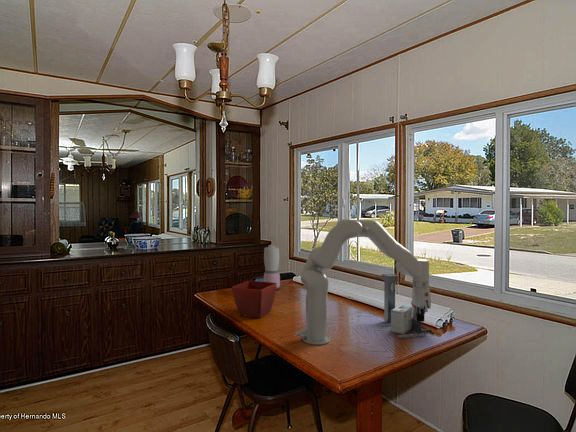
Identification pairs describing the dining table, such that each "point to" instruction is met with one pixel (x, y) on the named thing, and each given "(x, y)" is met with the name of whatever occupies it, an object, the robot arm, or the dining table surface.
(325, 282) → the robot arm
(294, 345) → the dining table surface
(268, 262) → the blender
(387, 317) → the press frame
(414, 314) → the lever
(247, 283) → the plant pot
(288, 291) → the dining table surface
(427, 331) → the lever track
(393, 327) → the light bulb box
